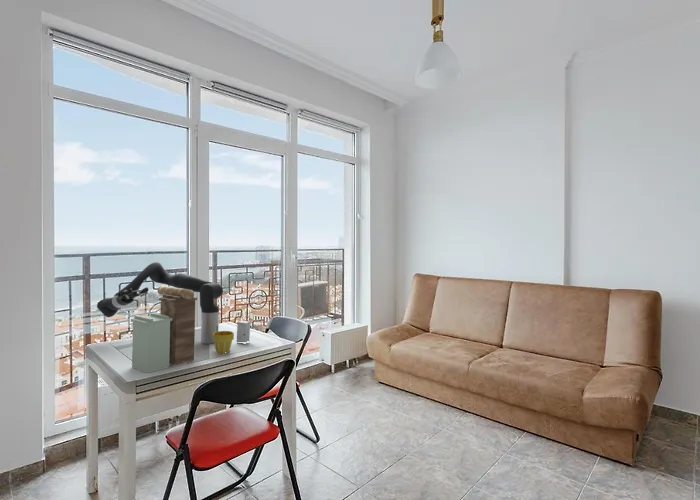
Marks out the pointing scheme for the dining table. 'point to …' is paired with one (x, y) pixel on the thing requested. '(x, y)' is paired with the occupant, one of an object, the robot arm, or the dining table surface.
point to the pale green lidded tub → (151, 342)
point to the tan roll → (176, 292)
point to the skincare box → (243, 331)
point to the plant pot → (223, 341)
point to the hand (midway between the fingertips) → (139, 289)
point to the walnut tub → (180, 327)
